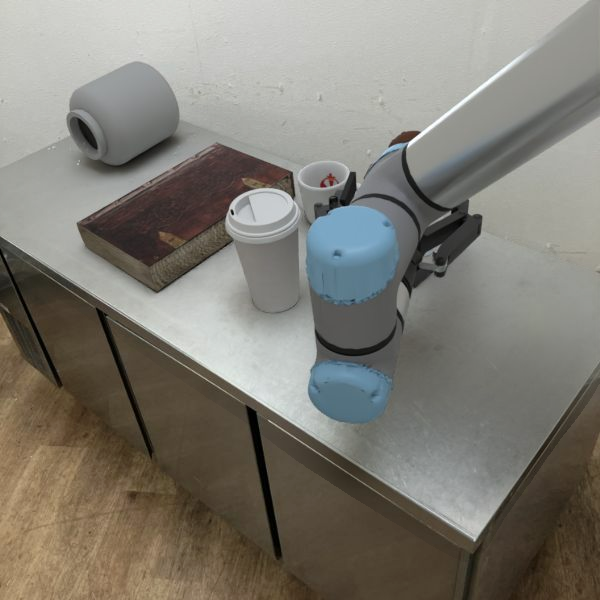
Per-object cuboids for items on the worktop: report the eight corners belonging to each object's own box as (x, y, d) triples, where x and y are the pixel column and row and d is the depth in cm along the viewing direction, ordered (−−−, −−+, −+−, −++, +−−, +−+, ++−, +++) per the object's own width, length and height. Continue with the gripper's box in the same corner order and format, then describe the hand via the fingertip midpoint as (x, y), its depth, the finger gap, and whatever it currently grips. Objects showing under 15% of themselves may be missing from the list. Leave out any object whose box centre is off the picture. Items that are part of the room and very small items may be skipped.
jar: (205, 128, 117) (76, 168, 103) (181, 167, 129) (63, 207, 116) (154, 40, 118) (20, 68, 104) (136, 87, 130) (13, 117, 117)
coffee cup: (250, 272, 93) (232, 184, 83) (315, 274, 91) (305, 184, 81) (234, 319, 86) (213, 228, 76) (305, 322, 85) (292, 230, 75)
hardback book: (220, 164, 116) (215, 139, 113) (296, 198, 106) (292, 171, 103) (84, 246, 102) (74, 220, 99) (157, 293, 92) (148, 266, 88)
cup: (376, 209, 102) (375, 164, 96) (362, 239, 96) (360, 194, 91) (311, 201, 105) (307, 157, 100) (294, 230, 100) (289, 185, 94)
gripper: (269, 305, 75) (314, 201, 90) (492, 331, 68) (502, 214, 83) (260, 254, 70) (309, 153, 84) (500, 277, 63) (509, 163, 78)
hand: (405, 183), depth 84 cm, fingers open, 13 cm apart
